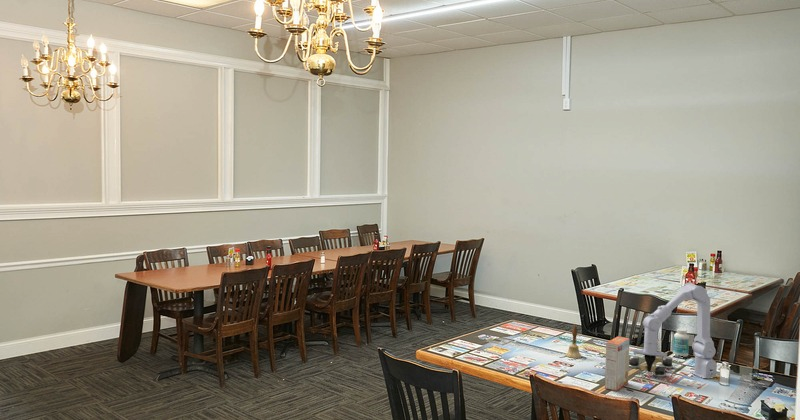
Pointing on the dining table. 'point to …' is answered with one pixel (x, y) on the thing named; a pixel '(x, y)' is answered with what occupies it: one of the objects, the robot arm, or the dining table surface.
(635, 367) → the levelling base
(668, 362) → the knob
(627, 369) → the cracker box
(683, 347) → the pill bottle
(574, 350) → the hand bell
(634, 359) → the knob
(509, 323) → the dining table surface
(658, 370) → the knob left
